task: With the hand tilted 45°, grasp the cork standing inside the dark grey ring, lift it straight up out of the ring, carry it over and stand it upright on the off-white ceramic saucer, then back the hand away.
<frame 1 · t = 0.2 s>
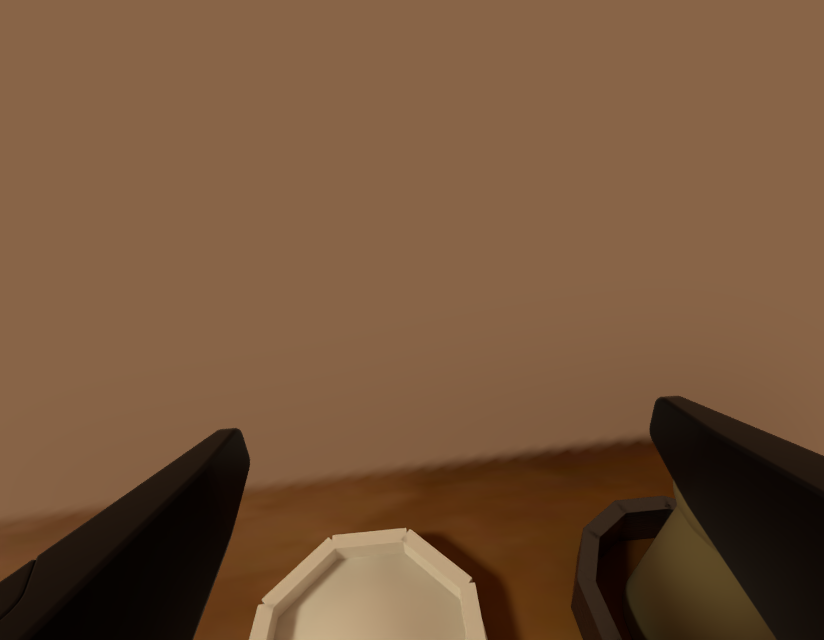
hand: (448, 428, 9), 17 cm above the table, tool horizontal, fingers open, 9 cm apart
cork: (691, 631, 19), resting in dark grey ring
dark grey ring: (692, 628, 19), on the table
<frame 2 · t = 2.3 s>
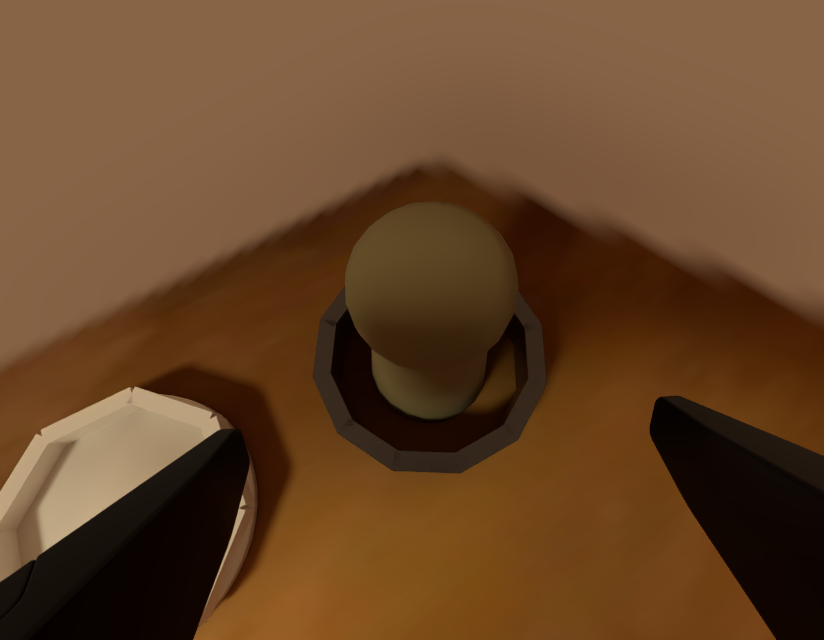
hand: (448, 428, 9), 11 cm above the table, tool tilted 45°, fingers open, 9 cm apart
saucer: (139, 516, 18), on the table
cork: (428, 364, 21), resting in dark grey ring
dark grey ring: (428, 363, 21), on the table
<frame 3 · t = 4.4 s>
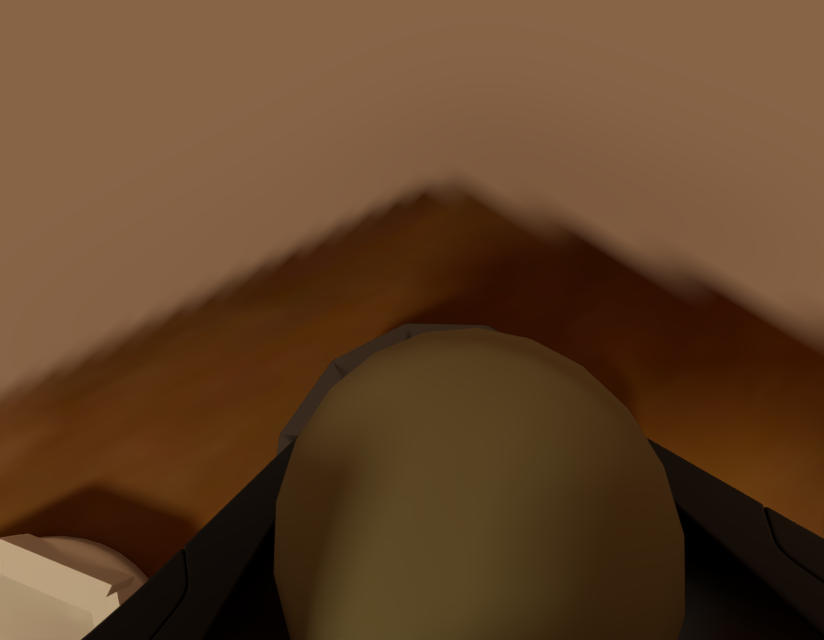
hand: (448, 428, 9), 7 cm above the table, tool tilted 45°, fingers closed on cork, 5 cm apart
cork: (441, 485, 14), resting in dark grey ring, touching gripper
dark grey ring: (442, 485, 14), on the table
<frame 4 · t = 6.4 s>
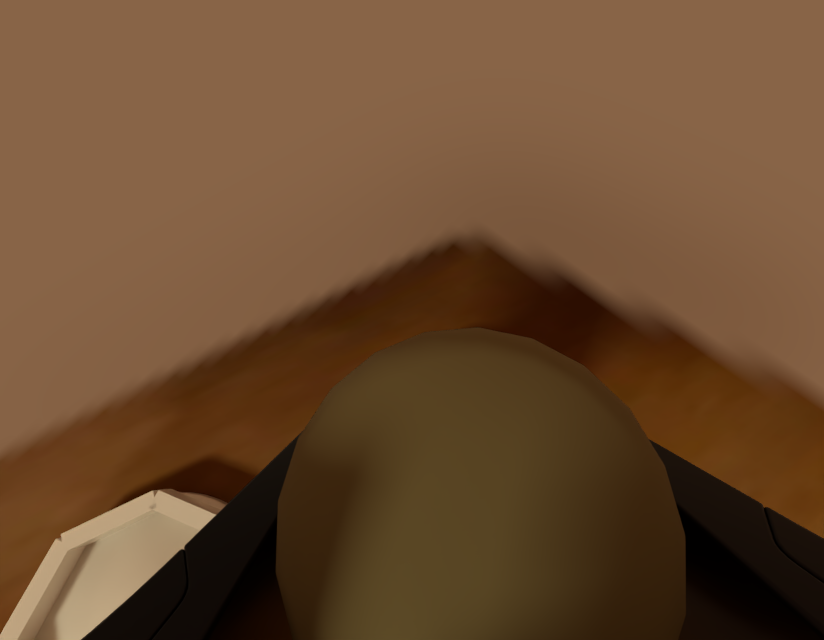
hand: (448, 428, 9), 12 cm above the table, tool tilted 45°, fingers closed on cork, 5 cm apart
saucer: (159, 626, 18), on the table
cork: (442, 483, 14), point 5 cm above the table, touching gripper
when the fingers open (9 cm above the table, at t = 8.6 s): cork drops 1 cm, resting on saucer.
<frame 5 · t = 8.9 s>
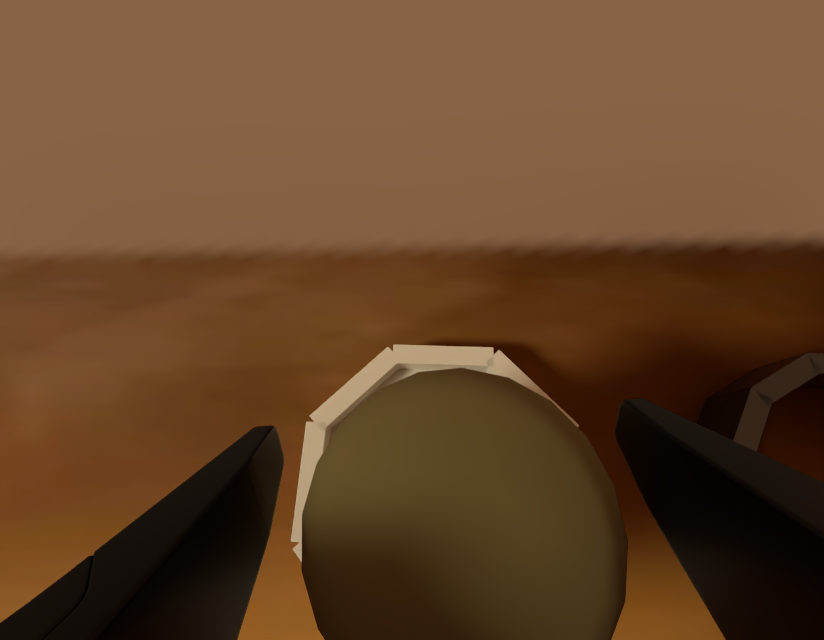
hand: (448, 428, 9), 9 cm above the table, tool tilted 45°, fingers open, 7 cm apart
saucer: (440, 482, 16), on the table
cork: (442, 484, 16), point 1 cm above the table, touching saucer
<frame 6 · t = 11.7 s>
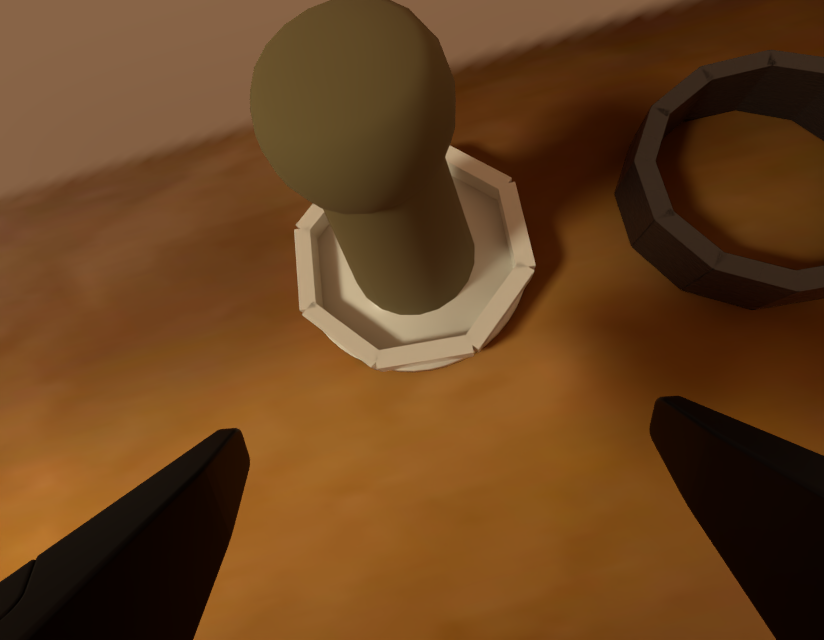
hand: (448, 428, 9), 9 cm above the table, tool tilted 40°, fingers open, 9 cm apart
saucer: (413, 261, 20), on the table
cork: (412, 257, 19), point 1 cm above the table, touching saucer
dark grey ring: (742, 195, 18), on the table
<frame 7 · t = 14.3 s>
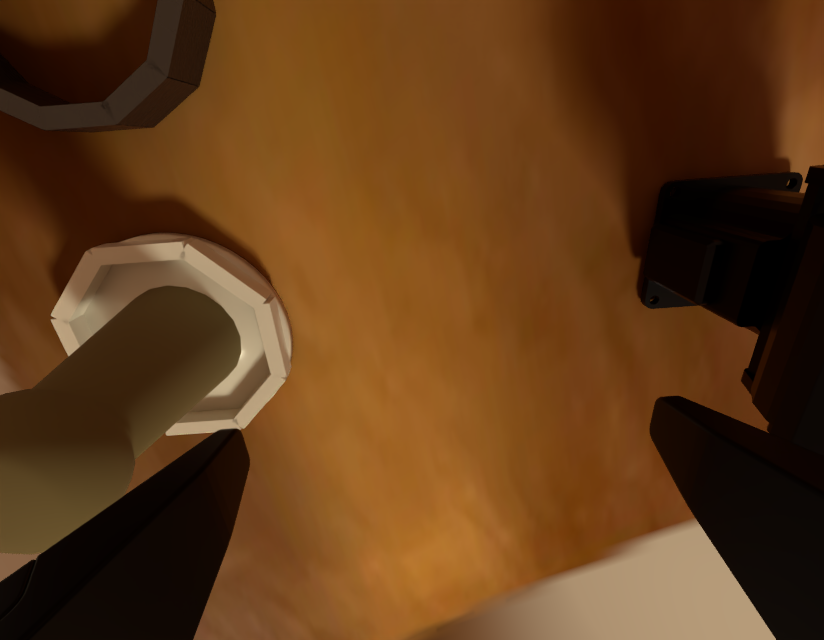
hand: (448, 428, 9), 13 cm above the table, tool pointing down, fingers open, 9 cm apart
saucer: (190, 333, 22), on the table
cork: (185, 337, 21), point 1 cm above the table, touching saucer
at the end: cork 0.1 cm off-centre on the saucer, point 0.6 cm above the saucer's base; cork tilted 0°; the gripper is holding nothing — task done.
